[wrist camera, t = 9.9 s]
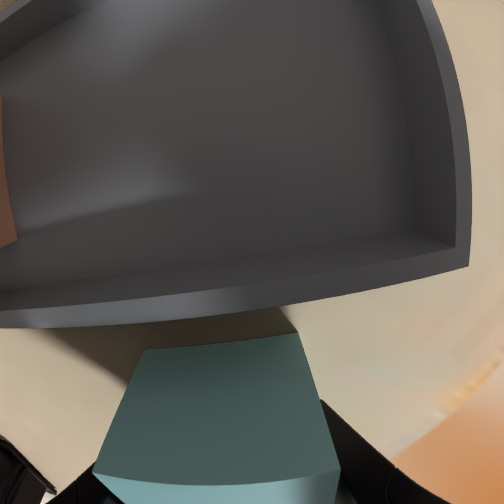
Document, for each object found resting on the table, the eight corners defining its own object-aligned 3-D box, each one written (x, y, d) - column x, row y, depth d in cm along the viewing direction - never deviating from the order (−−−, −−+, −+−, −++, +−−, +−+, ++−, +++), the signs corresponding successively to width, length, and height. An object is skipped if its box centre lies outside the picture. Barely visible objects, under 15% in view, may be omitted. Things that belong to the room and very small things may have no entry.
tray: (-41, 304, 7) (-70, 325, 5) (-69, 126, 5) (-100, 128, 3) (419, 240, 7) (468, 266, 5) (368, -26, 5) (398, -62, 3)
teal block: (185, 439, 9) (171, 537, 5) (144, 349, 8) (91, 472, 3) (304, 428, 9) (326, 531, 5) (298, 332, 8) (340, 469, 3)
